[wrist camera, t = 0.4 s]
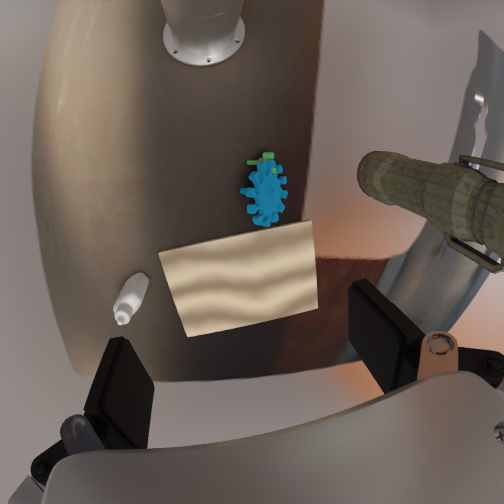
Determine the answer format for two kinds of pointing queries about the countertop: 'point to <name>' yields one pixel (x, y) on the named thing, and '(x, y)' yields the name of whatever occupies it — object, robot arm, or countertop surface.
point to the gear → (266, 190)
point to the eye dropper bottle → (130, 297)
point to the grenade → (443, 198)
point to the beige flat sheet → (243, 278)
